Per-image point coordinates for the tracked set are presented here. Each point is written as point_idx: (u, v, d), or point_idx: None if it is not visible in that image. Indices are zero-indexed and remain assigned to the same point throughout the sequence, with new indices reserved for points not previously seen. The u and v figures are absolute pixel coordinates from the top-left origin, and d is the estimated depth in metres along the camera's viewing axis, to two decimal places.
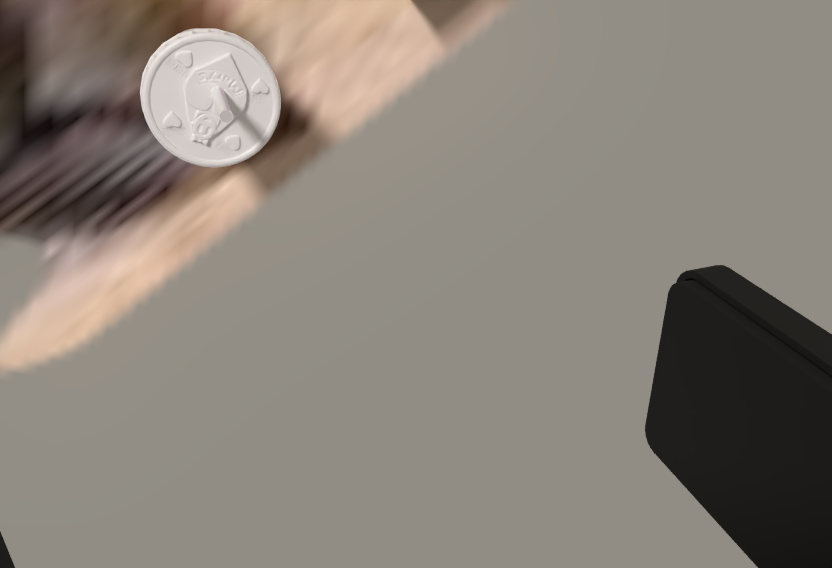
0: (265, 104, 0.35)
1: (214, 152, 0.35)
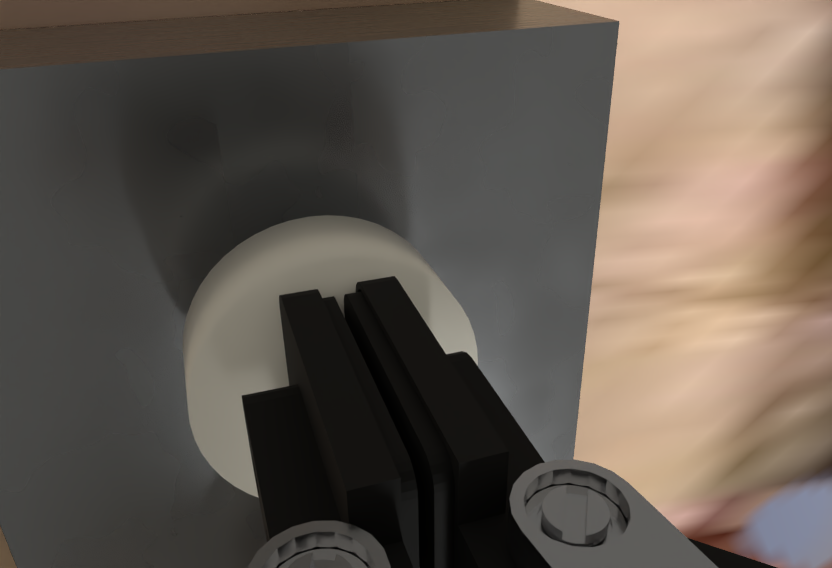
0: None
1: None
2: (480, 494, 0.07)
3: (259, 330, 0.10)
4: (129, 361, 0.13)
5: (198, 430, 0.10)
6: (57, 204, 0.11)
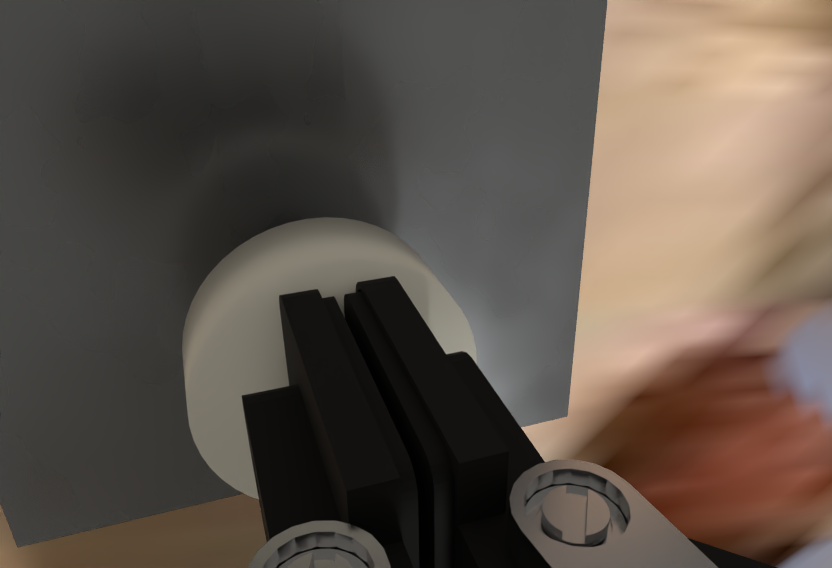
0: None
1: None
2: (480, 494, 0.07)
3: None
4: None
5: None
6: None
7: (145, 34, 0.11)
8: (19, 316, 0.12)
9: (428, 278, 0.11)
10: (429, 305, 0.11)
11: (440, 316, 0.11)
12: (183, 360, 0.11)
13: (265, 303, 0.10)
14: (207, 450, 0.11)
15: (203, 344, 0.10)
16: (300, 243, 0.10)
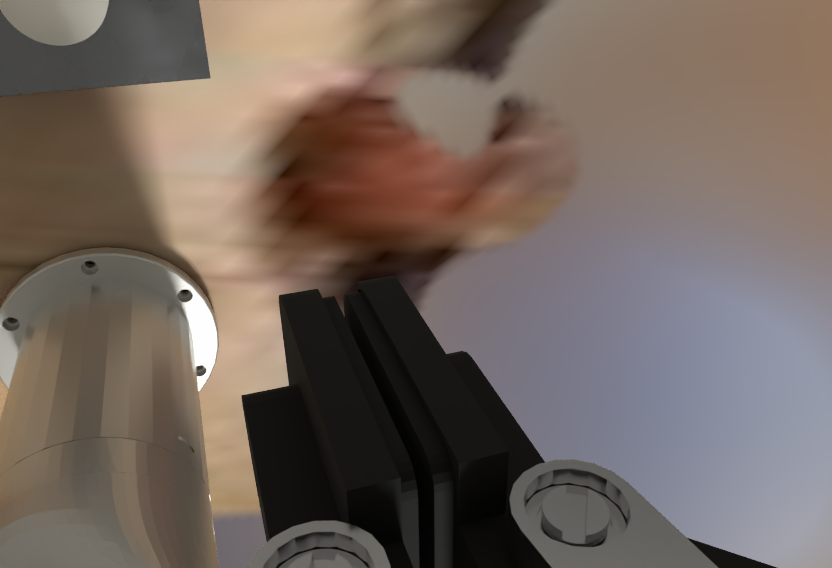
0: None
1: None
2: (480, 494, 0.07)
3: None
4: None
5: None
6: None
7: None
8: None
9: None
10: None
11: None
12: None
13: None
14: (2, 7, 0.30)
15: None
16: None
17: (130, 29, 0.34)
